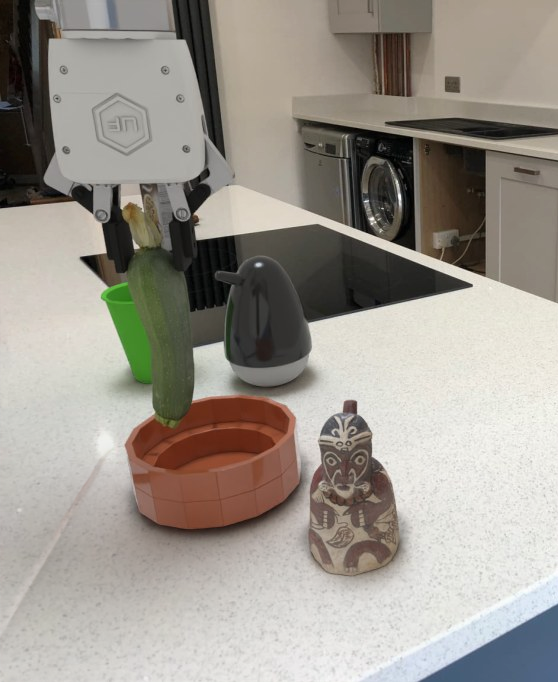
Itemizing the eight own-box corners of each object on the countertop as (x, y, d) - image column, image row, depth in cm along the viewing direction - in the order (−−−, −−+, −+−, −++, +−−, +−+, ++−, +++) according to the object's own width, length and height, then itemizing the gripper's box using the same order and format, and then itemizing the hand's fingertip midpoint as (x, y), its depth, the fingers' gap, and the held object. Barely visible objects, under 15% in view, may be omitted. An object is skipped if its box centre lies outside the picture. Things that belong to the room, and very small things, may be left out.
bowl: (117, 544, 59) (103, 480, 57) (159, 454, 72) (149, 400, 70) (295, 529, 61) (288, 466, 59) (305, 444, 74) (300, 390, 72)
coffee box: (147, 243, 152) (134, 164, 146) (178, 238, 155) (166, 161, 150) (164, 252, 145) (151, 169, 139) (196, 246, 149) (184, 165, 143)
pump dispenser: (212, 376, 90) (195, 255, 84) (289, 354, 96) (278, 240, 90) (249, 405, 82) (233, 274, 77) (330, 379, 88) (320, 257, 83)
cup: (100, 385, 87) (82, 298, 83) (151, 357, 95) (136, 276, 91) (164, 395, 85) (148, 305, 81) (210, 364, 93) (198, 281, 89)
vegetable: (196, 411, 67) (162, 192, 59) (215, 429, 64) (182, 200, 56) (147, 426, 64) (105, 199, 57) (164, 445, 61) (123, 207, 54)
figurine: (296, 570, 56) (281, 431, 52) (326, 515, 63) (315, 388, 58) (387, 579, 55) (380, 438, 51) (407, 523, 62) (402, 394, 57)
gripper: (-35, 14, 47) (25, 285, 54) (230, 17, 49) (256, 278, 56) (14, 18, 54) (62, 258, 61) (245, 20, 56) (266, 252, 63)
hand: (155, 265), depth 59 cm, fingers closed on vegetable, 3 cm apart
